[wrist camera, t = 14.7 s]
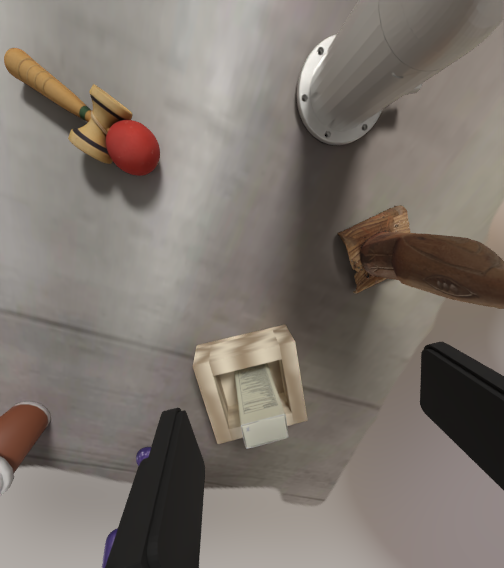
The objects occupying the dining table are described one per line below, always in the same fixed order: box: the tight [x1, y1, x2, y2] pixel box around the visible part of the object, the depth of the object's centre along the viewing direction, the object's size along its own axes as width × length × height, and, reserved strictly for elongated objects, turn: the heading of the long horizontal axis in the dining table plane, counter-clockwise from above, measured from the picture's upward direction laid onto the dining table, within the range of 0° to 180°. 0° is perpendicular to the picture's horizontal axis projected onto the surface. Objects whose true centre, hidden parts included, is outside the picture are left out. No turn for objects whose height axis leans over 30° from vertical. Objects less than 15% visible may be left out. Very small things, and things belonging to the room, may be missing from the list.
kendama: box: [4, 48, 160, 176], centre depth 28 cm, size 8×6×18 cm
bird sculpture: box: [337, 205, 504, 309], centre depth 25 cm, size 11×12×32 cm
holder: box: [193, 325, 308, 444], centre depth 41 cm, size 16×16×6 cm
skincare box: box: [234, 363, 288, 449], centre depth 37 cm, size 6×4×12 cm
